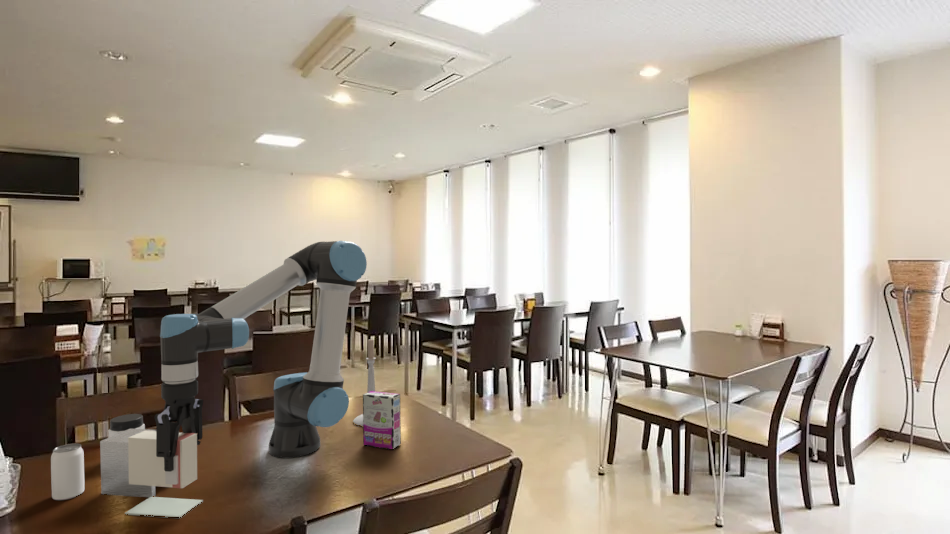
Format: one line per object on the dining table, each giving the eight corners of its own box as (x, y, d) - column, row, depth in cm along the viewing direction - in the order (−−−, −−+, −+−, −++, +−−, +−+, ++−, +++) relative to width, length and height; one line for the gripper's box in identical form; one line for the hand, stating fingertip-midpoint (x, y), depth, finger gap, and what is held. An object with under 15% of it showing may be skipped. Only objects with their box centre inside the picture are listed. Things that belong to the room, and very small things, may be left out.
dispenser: (101, 494, 130) (100, 441, 129) (131, 478, 139) (129, 428, 139) (151, 497, 128) (150, 443, 127) (178, 480, 137) (177, 430, 137)
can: (63, 489, 132) (62, 443, 132) (90, 488, 133) (89, 442, 133) (45, 501, 126) (43, 453, 126) (73, 500, 126) (72, 452, 126)
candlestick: (384, 427, 178) (384, 341, 178) (348, 427, 179) (347, 341, 178) (393, 416, 191) (392, 335, 190) (359, 415, 192) (358, 335, 191)
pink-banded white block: (197, 478, 124) (196, 433, 124) (182, 488, 119) (181, 440, 119) (145, 475, 126) (145, 429, 126) (128, 484, 121) (128, 437, 121)
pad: (203, 501, 126) (203, 499, 126) (180, 518, 118) (180, 516, 118) (150, 498, 127) (150, 496, 127) (124, 514, 120) (124, 512, 120)
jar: (108, 466, 147) (107, 424, 146) (109, 456, 154) (108, 417, 153) (145, 459, 152) (144, 418, 151) (145, 450, 158) (144, 411, 158)
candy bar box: (401, 445, 162) (401, 393, 162) (393, 450, 158) (392, 397, 157) (371, 440, 166) (371, 390, 166) (362, 445, 162) (362, 393, 161)
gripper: (191, 371, 131) (192, 462, 131) (135, 389, 113) (136, 494, 113) (218, 372, 130) (219, 463, 130) (166, 390, 112) (167, 497, 112)
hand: (180, 477), depth 122 cm, fingers closed on pink-banded white block, 5 cm apart
